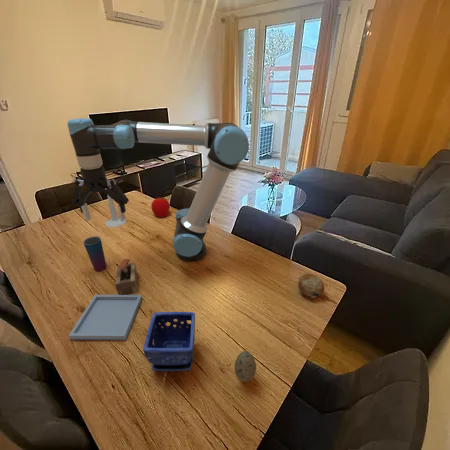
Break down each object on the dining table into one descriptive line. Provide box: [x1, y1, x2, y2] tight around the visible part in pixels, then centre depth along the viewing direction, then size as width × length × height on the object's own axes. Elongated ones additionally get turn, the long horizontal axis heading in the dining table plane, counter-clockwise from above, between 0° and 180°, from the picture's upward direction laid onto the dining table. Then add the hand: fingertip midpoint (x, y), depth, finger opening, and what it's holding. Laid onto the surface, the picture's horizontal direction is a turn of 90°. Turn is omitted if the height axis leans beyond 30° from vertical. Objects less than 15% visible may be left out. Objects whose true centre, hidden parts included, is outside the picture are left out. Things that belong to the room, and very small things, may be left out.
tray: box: [68, 294, 143, 341], centre depth 87 cm, size 18×18×2 cm
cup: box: [82, 235, 107, 272], centre depth 109 cm, size 7×7×15 cm
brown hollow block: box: [114, 262, 138, 295], centre depth 102 cm, size 12×7×6 cm, turn 17°
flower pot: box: [143, 311, 196, 372], centre depth 73 cm, size 13×13×12 cm
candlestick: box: [104, 176, 127, 228], centre depth 143 cm, size 13×13×30 cm
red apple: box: [151, 197, 171, 218], centre depth 156 cm, size 11×11×13 cm
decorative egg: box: [234, 350, 257, 382], centre depth 68 cm, size 6×6×10 cm
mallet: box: [119, 258, 131, 280], centre depth 102 cm, size 3×6×10 cm, turn 0°
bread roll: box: [297, 273, 325, 299], centre depth 98 cm, size 10×10×8 cm
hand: (105, 220), depth 97 cm, fingers open, 13 cm apart
